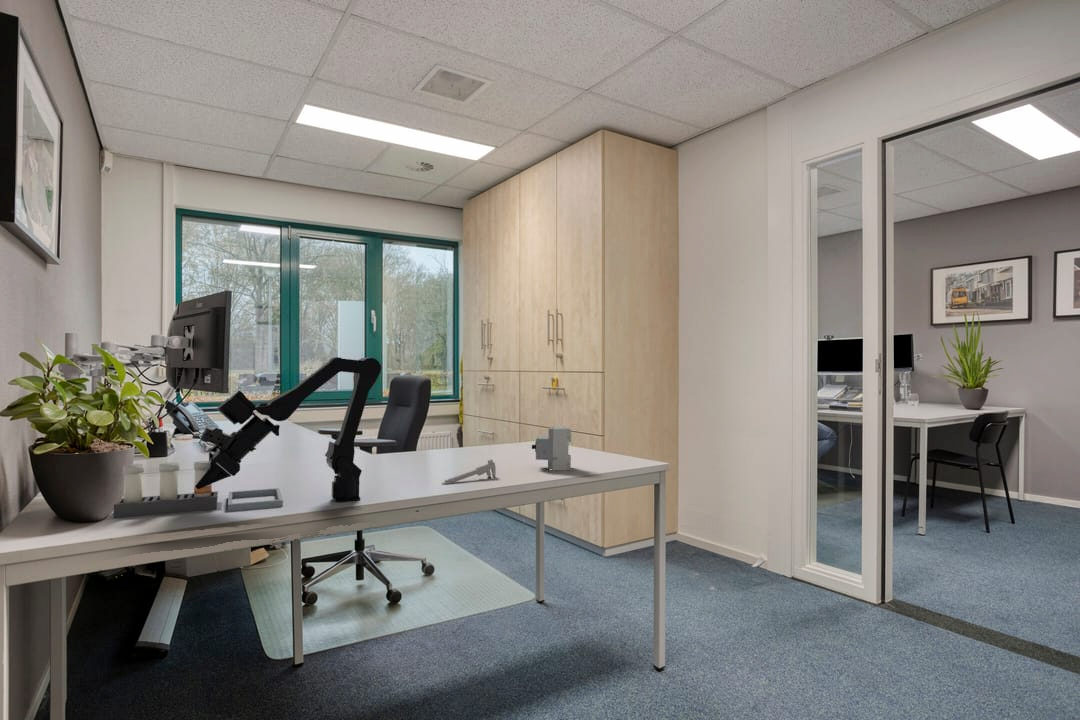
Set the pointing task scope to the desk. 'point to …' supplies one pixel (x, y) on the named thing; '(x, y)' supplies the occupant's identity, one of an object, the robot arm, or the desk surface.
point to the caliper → (475, 472)
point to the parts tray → (255, 504)
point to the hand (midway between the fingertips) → (196, 485)
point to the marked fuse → (200, 470)
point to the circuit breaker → (554, 448)
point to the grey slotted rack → (165, 506)
